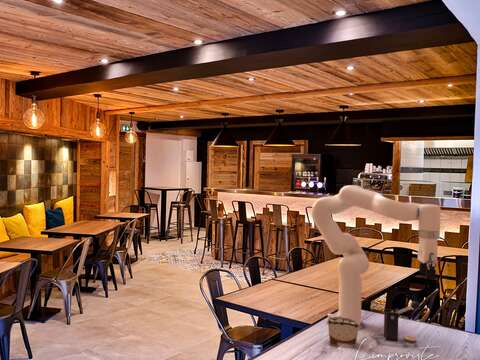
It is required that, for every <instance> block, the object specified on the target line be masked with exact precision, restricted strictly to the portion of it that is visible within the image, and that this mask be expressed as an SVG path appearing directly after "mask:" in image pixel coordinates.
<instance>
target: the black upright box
mask: <svg viewBox="0 0 480 360" xmlns="http://www.w3.org/2000/svg"><path fill="white" fill-rule="evenodd" d="M391 311H393V312H391ZM396 311H397V310H396V309H389V308H384V311H383V312H384V314H383V337H384V339H385V341H389V342H396V343H397V342H399V315H400V314H399V313H396Z"/></svg>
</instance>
